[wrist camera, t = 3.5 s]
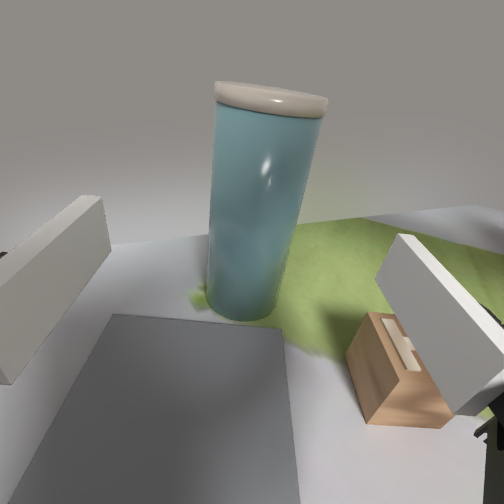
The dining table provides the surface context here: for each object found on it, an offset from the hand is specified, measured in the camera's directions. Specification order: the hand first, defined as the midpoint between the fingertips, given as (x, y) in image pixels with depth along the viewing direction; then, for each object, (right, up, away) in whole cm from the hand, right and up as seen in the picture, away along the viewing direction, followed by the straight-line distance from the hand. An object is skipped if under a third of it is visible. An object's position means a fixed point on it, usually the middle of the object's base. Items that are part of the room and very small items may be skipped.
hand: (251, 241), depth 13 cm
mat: (-5, -12, +7) cm, 15 cm away
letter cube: (+12, -12, +11) cm, 20 cm away
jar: (-1, -5, +18) cm, 19 cm away
